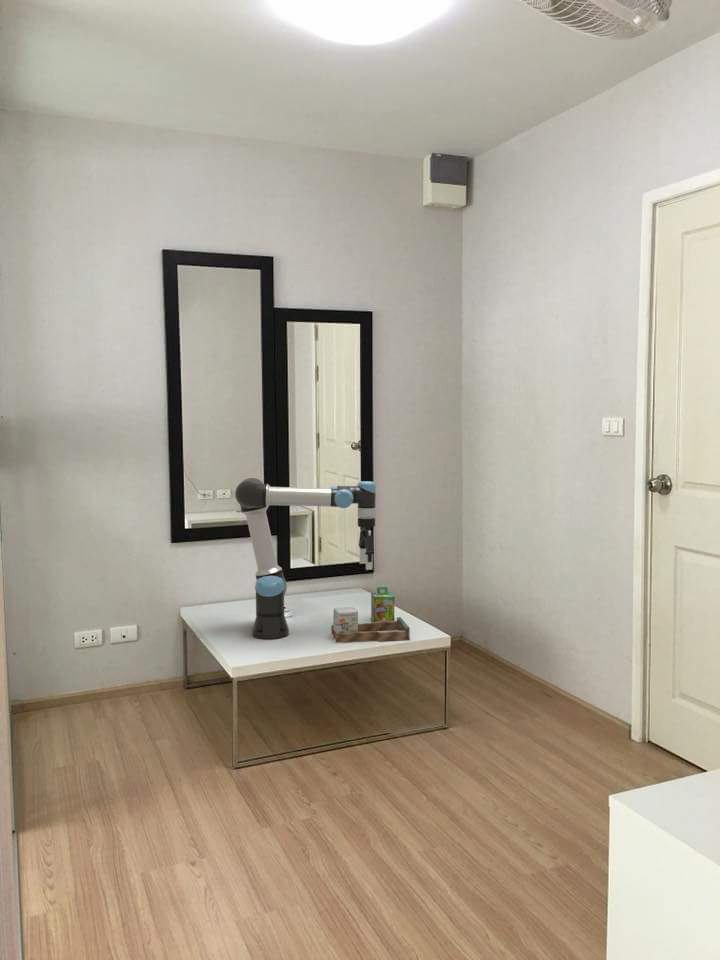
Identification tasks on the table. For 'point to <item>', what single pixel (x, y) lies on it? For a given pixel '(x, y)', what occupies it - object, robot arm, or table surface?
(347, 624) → the ink box
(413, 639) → the table surface
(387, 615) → the chalk box
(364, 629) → the brown low open piece
